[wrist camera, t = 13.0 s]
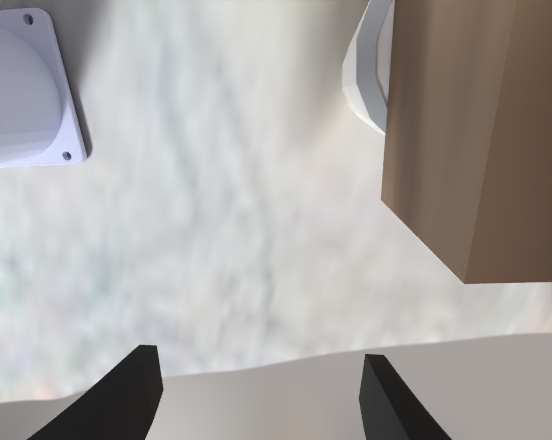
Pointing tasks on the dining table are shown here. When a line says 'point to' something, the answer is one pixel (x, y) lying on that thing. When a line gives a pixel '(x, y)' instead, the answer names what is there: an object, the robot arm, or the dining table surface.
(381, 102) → the white cylinder
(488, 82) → the walnut block
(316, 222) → the dining table surface
